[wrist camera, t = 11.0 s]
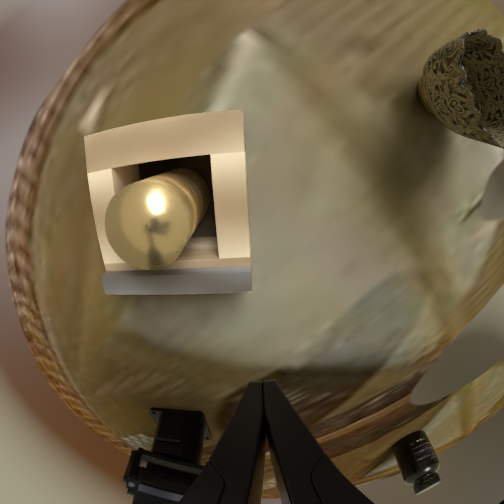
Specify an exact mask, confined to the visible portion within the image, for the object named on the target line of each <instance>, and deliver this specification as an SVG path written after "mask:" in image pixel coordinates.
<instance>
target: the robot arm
mask: <svg viewBox="0 0 504 504" xmlns="http://www.w3.org/2000/svg"><path fill="white" fill-rule="evenodd" d="M150 413H151V415H152V417H153V419H154V420H155V422H156V424H157V429H156V432H155V436H154V440H153V444H152V448H151V452H150V451H147V450H144V449H143V448H140V447H139V449H138V450H132V453H131V456H130V460H129V463H128V466H127V469H126V472H125V474H124V478H123V481H124V483H125V484H126V489H128V491H127V495H130V496H133V497H134V499H133V503H132V504H261V496H262V486H263V475H264V464H265V452H266V434H267V441H268V446H269V451H270V455H271V460H272V464H273V468H274V473H275V477H276V481H277V486H278V490H279V494H280V498H281V502H282V504H374V503H373V502H372V501H371V500H370V499H368V498H367V497H366V496H365V495H364V494H363V493H362V492H361V491H359V490H358V489H357V488H356V487H355V486H354V485H353V484H352V483H351V482H350V481H349V480H348V479H347V478H346V477H345V476H344V475H343V474H342V473H341V472H340V471H339V469H338V468H337V467H336V466H335V465H334V463H333V462H332V461H331V460H330V458H329V457H328V455H327V454H326V453H324V450H323V449H322V447H321V446H320V445H319V443H318V442H317V441H316V439H315V438H314V436H313V435H312V433H311V432H310V431H309V429H308V428H307V426H306V425H305V424H304V422H303V421H302V419H301V418H300V416H299V415H298V413H297V412H296V410H295V409H294V408H293V406H292V405H291V403H290V402H289V400H288V399H287V397H286V396H285V394H284V393H283V391H282V390H281V388H280V387H279V385H278V384H277V382H276V381H275V380H265V381H263V384H262V381H252V382H250V383H249V384H248V386H247V388H246V390H245V392H244V394H243V396H242V398H241V400H240V402H239V404H238V406H237V408H236V410H235V412H234V414H233V415H232V417H231V419H230V421H229V423H228V425H227V427H226V429H225V431H224V432H223V434H222V436H221V438H220V440H219V442H218V443H217V445H216V447H215V449H214V451H213V452H212V454H211V456H210V458H209V461H207V463H206V465H205V466H203V465H201V457H202V449H203V440H210V439H211V433H210V430H209V427H208V424H207V422H206V419H205V416H204V413H202V412H198V411H182V410H170V409H160V408H151V409H150ZM140 465H142V466H145V467H146V468H144V467H140ZM497 504H504V498H503V499H502V500H501V501H500V502H499V503H497Z"/></svg>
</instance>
